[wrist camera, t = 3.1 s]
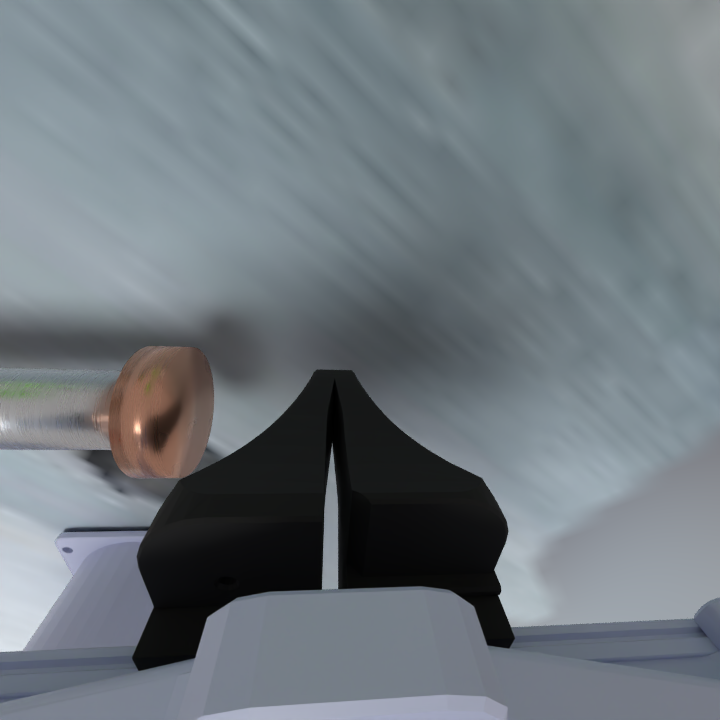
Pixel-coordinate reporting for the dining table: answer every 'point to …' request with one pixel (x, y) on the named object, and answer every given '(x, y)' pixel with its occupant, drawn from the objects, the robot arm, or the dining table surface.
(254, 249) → the dining table surface
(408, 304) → the dining table surface
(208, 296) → the dining table surface
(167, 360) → the shaft
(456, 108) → the dining table surface
